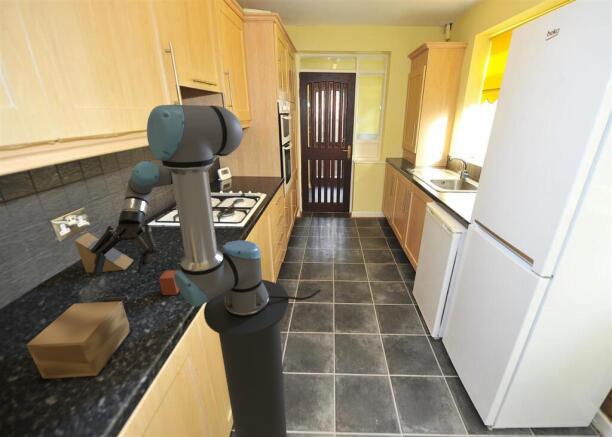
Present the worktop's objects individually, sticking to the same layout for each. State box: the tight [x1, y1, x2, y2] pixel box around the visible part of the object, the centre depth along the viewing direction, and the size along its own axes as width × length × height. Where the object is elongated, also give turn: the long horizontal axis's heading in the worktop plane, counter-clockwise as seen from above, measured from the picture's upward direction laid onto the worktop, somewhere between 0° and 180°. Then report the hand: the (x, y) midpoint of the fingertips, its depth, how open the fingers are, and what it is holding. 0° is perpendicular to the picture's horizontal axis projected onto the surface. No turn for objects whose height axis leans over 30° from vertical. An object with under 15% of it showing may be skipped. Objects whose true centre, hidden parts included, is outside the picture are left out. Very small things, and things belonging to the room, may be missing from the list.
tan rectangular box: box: [26, 301, 131, 380], centre depth 71 cm, size 15×13×11 cm
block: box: [158, 269, 180, 296], centre depth 97 cm, size 5×5×7 cm
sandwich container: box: [74, 232, 134, 274], centre depth 113 cm, size 9×15×15 cm, turn 98°
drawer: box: [100, 296, 130, 327], centre depth 75 cm, size 19×12×9 cm, turn 3°
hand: (118, 274), depth 85 cm, fingers open, 13 cm apart
